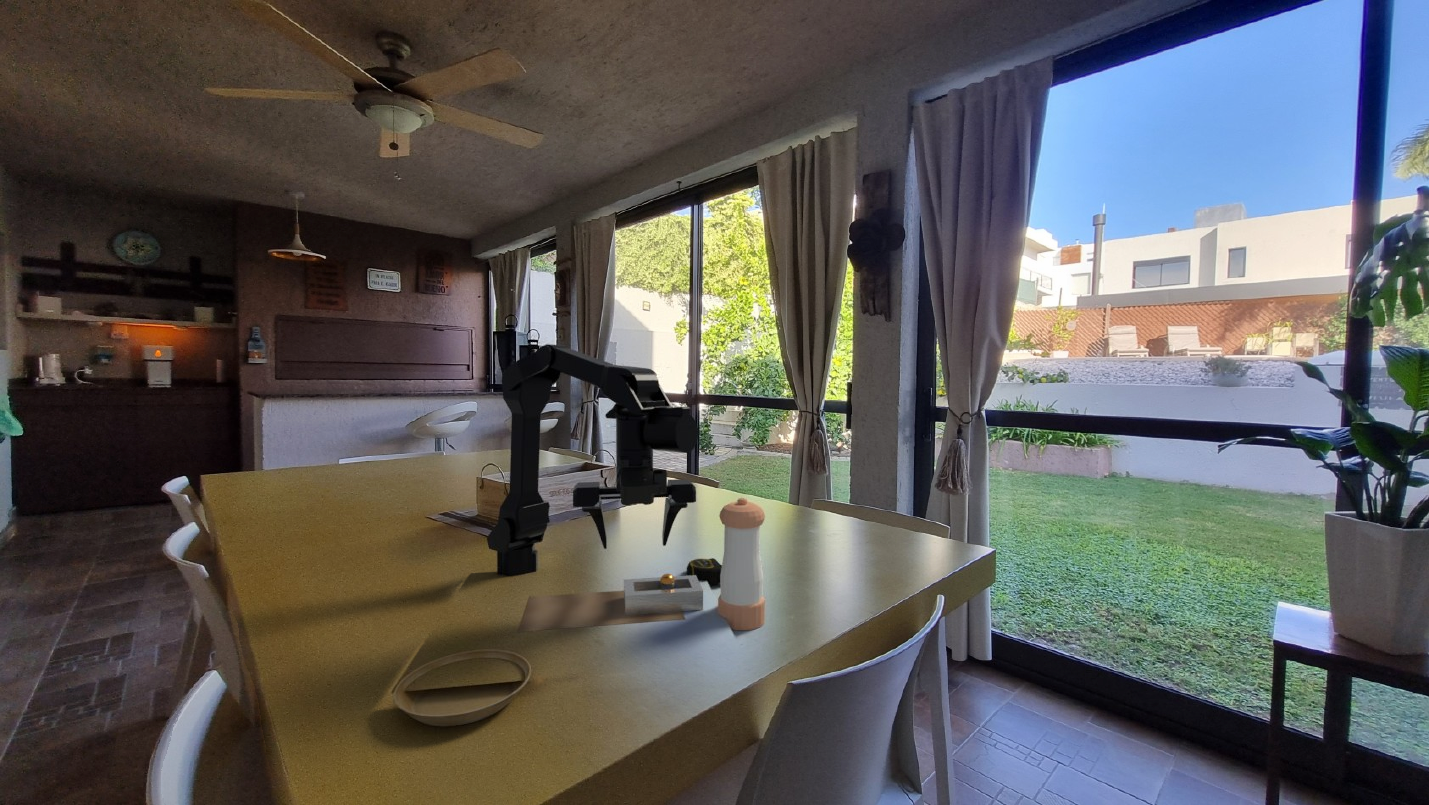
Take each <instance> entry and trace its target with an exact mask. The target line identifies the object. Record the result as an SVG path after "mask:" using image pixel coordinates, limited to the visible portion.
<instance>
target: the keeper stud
mask: <svg viewBox="0 0 1429 805" xmlns="http://www.w3.org/2000/svg"><path fill="white" fill-rule="evenodd" d="M673 576H674V575H672V574H671V573H664V574H663V575H662V576H660V577H661V579H660V590H665V589H675V579H674V577H673Z"/></svg>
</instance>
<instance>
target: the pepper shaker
mask: <svg viewBox="0 0 1429 805" xmlns="http://www.w3.org/2000/svg"><path fill="white" fill-rule="evenodd" d="M765 514H766V513H765V511H764V509H763V508H762V507H761V506H760V505H758V504H756V503H755V502H750V501H749V500H748V499H747V498H745V497H739V498H738V499H737V500H736V501H734V502H733V501H732V502H730V503H728V504H725V505H724V506H723V507H722V509H721V510H720V512H719V515H718V517H719V520H720V521H721V523H722V525H724V531H723V532H724V535H723V536H724V537H723V538H724V539H723V540H724V541H723V542H724V543H723V556H722V563H721V565H722V568H721V574H720V583H719V584H720V587H719V588H720V594H719V595H718V598H717V611H718V612H717V613H718V614H719V615H720V616H721V617H723V618H725V620H726V622H727V624H728V626H729V628H730V630H734V631H735V630H736V631H751V630H755V629H759V628H760V627H761V626H763V625H764V624H765V622H766V620H765V619H766V599H765V597H764V595H763V592H764V590H763V589H764V588H763V587H764V573H763V567H762V560H761V552H760V551H761V548H760V547H761V544H760V542H761V541H760V540H761V539H760V538H761V529H760V528H761V526H762V525H763V523H764V522H765V518H766V515H765Z"/></svg>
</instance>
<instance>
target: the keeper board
mask: <svg viewBox="0 0 1429 805" xmlns="http://www.w3.org/2000/svg"><path fill="white" fill-rule="evenodd" d="M680 620H681V621H683V620H686V617H685V614H684V611H676V612H662V613H649V614H635V615H625V607H624V590H611V591H598V592H597V591H596V592H581V593H567V594H566V593H565V594H553V595H536V596H529V597H528V600H527V602H526V606H525V609H524V612H523V616H522V619H521V622H520V624H519V627H518V631H517V632H518V633H525V632H536V631H549V630H550V631H551V630H562V629H575V628H576V629H577V628H588V627H589V628H591V627H599V626H600V627H602V626H617V625H630V624H642V623H643V624H644V623H657V622H669V621H680Z"/></svg>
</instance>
